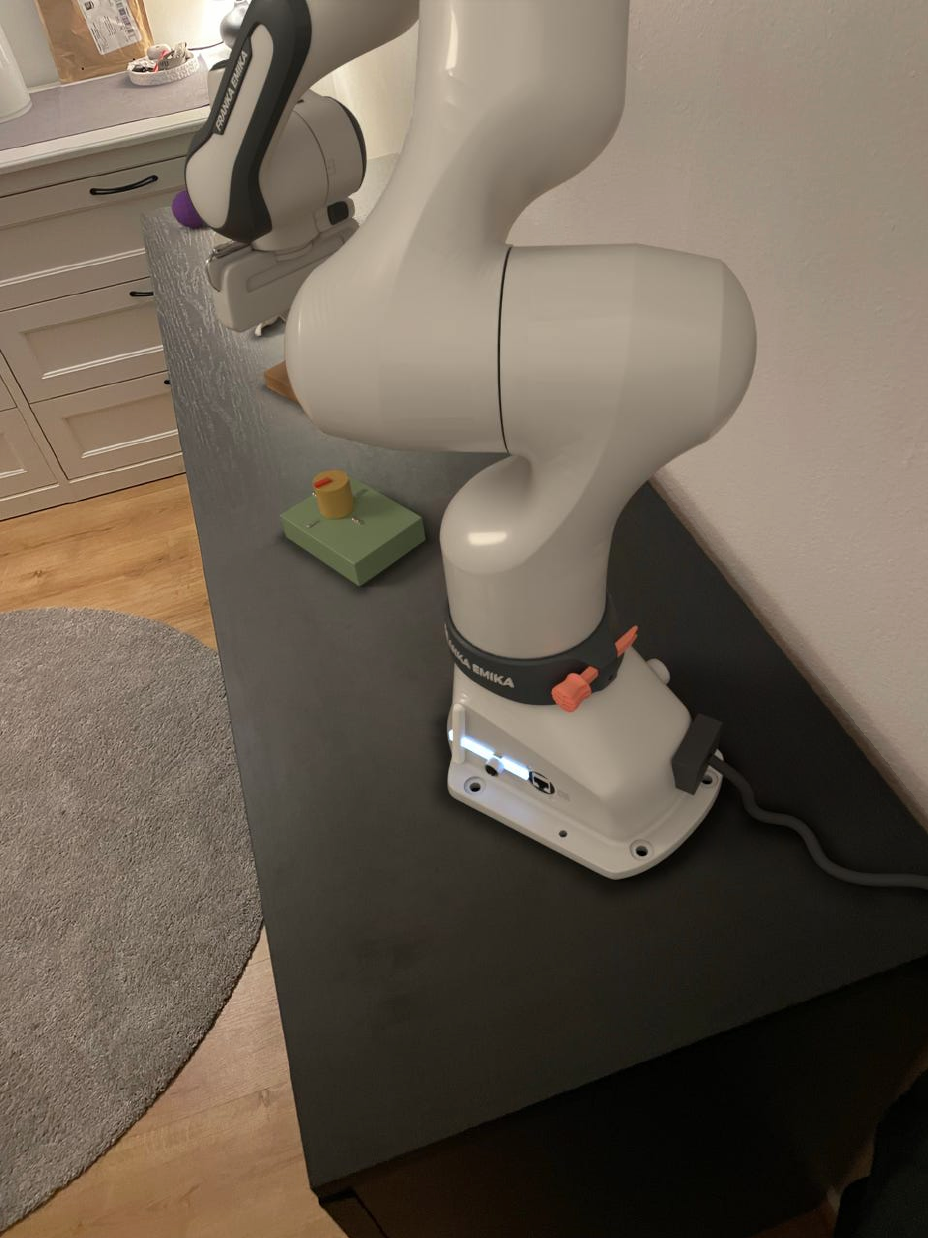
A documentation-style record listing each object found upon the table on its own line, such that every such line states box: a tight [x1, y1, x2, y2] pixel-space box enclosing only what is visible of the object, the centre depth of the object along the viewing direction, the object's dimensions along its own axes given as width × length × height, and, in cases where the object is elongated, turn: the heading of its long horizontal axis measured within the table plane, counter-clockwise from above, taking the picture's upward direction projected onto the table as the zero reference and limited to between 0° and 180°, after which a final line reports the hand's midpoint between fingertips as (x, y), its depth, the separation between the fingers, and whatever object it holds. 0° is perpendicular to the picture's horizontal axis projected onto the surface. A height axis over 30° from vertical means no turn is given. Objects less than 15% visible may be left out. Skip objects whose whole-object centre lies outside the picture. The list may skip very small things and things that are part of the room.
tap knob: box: [312, 469, 355, 519], centre depth 89 cm, size 4×4×4 cm
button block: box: [263, 359, 300, 405], centre depth 113 cm, size 11×9×4 cm
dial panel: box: [279, 473, 427, 587], centre depth 91 cm, size 12×9×3 cm
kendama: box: [171, 189, 204, 229], centre depth 156 cm, size 6×6×20 cm
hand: (305, 335), depth 109 cm, fingers closed
